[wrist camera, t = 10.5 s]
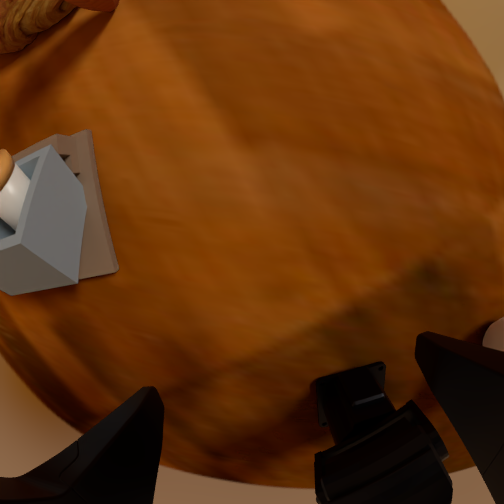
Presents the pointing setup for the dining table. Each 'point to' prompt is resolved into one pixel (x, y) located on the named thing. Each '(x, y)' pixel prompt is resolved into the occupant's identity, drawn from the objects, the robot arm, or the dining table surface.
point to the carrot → (96, 4)
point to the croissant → (28, 20)
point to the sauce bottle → (495, 336)
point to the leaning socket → (57, 219)
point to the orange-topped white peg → (11, 189)
